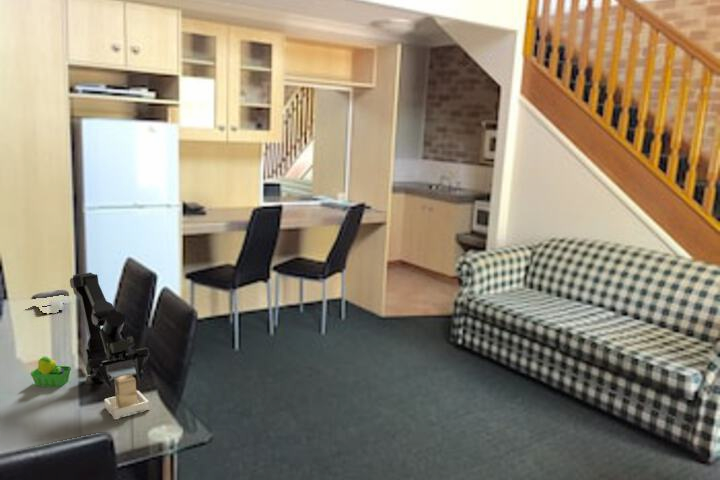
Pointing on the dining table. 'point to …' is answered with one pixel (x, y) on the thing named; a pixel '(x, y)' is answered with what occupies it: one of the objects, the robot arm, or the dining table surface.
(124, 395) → the light brown tall block
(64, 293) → the glasses case
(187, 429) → the dining table surface
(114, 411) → the tray
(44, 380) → the fruit basket
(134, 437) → the dining table surface
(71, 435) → the dining table surface
